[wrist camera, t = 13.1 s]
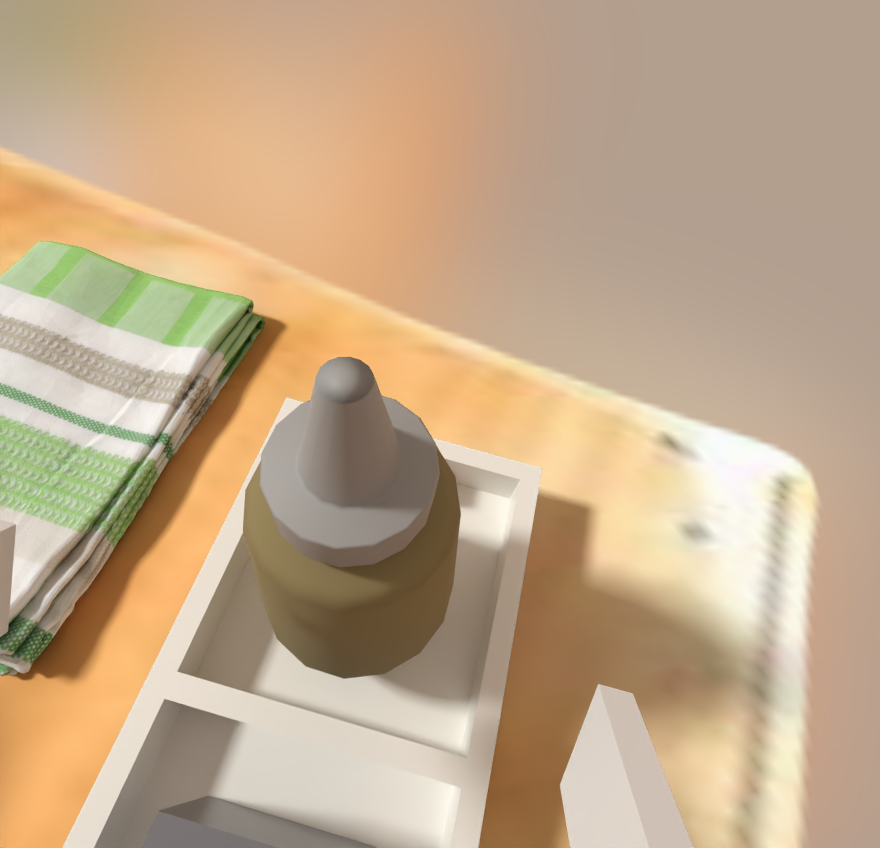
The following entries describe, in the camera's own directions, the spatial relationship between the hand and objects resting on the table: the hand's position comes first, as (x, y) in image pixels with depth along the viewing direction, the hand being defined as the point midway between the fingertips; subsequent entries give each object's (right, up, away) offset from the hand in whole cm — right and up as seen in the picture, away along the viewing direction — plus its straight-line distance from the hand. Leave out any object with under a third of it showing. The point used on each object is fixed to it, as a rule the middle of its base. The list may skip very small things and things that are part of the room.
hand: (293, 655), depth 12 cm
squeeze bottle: (-1, -3, +14) cm, 15 cm away
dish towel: (-20, +5, +19) cm, 28 cm away
